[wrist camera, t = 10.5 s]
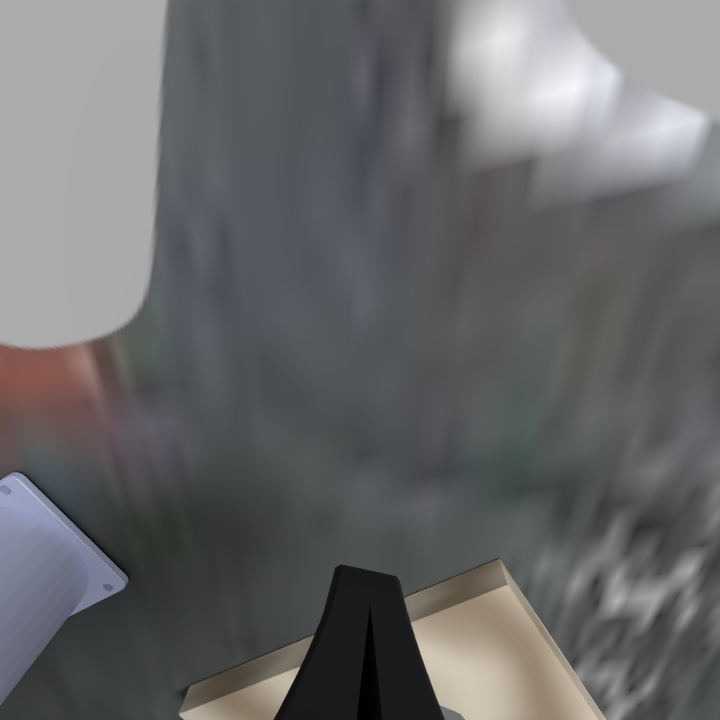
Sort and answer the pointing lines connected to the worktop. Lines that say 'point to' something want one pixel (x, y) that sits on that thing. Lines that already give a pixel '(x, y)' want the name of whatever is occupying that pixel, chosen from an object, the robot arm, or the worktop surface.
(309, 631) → the worktop surface
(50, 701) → the worktop surface
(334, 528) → the worktop surface
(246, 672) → the plate
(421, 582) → the worktop surface
